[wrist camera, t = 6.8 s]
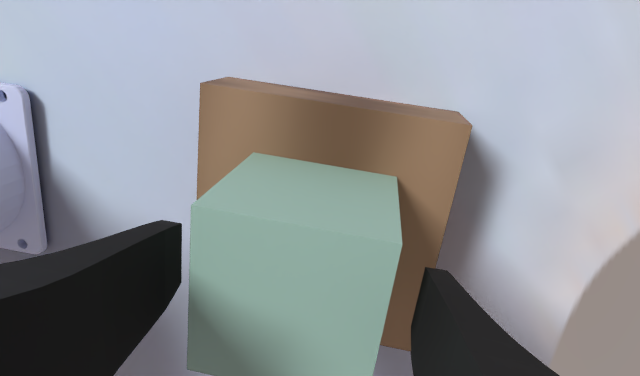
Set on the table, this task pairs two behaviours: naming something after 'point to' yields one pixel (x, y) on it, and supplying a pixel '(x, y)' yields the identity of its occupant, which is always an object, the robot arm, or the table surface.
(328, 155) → the walnut block
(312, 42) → the table surface
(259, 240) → the green cube
